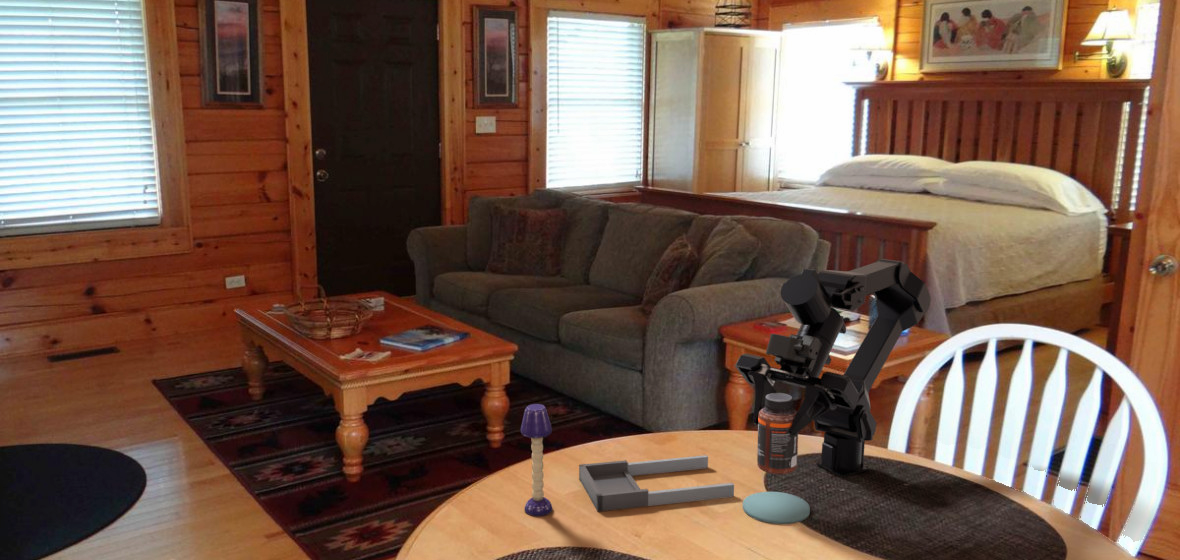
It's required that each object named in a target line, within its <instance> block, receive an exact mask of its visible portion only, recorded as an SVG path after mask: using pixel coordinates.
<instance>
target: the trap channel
mask: <svg viewBox="0 0 1180 560" xmlns="http://www.w3.org/2000/svg"><path fill="white" fill-rule="evenodd" d="M578 468H579V469H578V472H579V473H578V479H579V481H580V484H581V485H582V487H583V488H584V490H585V492H586V494H587V497H589V499H590V501H591V503H592V504H593V506H594V508H595V510H596V512H599V513H600V512H605V511H615V510H617V511H618V510H625V509H626V510H627V509H634V508H641V507H651V506H652V507H653V506H660V505H669V504H680V503H689V502H697V501H709V500H714V499H715V500H716V499H725V498H734V496H735V484H734V483H733V482H726V483H719V484H718V483H717V484H707V485H699V486H697V485H696V486H690V487H689V486H688V487H687V486H686V487H679V488H672V489H671V488H670V489H669V488H668V489H660V490H651V491H649V489H648V488H641V487H640V486H639V485H638V483H637V482H636V481H635V479H634V476H642V475H644V476H645V475H653V474H654V475H655V474H663V473H664V474H665V473H673V472H675V473H676V472H681V471H693V470H704V469H708V468H709V456H708V455H707V454H704V455H696V456H694V455H693V456H687V457H685V456H684V457H674V458H664V459H654V460H645V461H644V460H643V461H634V462H628V461H627V459H626V460H625V459H624V460H614V461H613V460H612V461H606V462H605V461H604V462H603V461H602V462H595V463H594V462H593V463H583V464H582V463H581V464H579V465H578Z"/></svg>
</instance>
